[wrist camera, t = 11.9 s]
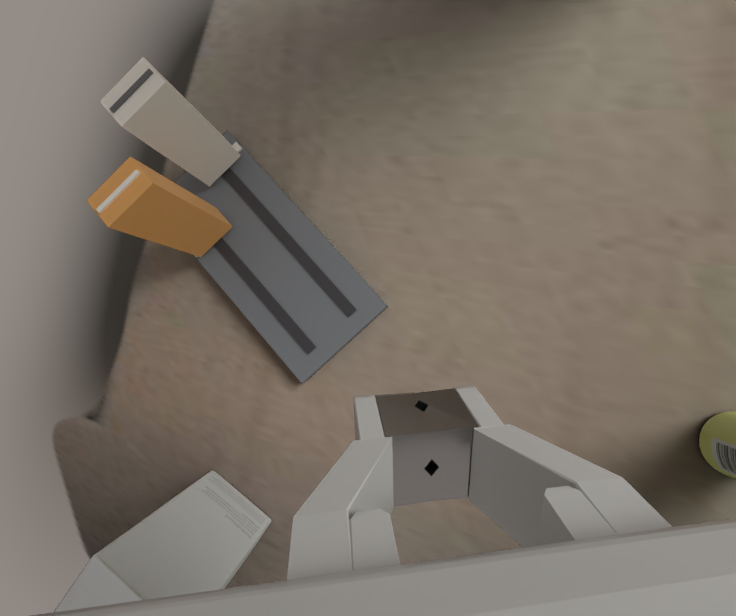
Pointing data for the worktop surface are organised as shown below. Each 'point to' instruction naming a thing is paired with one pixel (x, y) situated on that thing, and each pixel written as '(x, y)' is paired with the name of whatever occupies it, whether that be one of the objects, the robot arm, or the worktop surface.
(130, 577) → the supplement box
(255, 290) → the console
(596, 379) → the worktop surface
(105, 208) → the fader orange
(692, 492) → the worktop surface
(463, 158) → the worktop surface
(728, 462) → the tube
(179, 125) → the fader white
